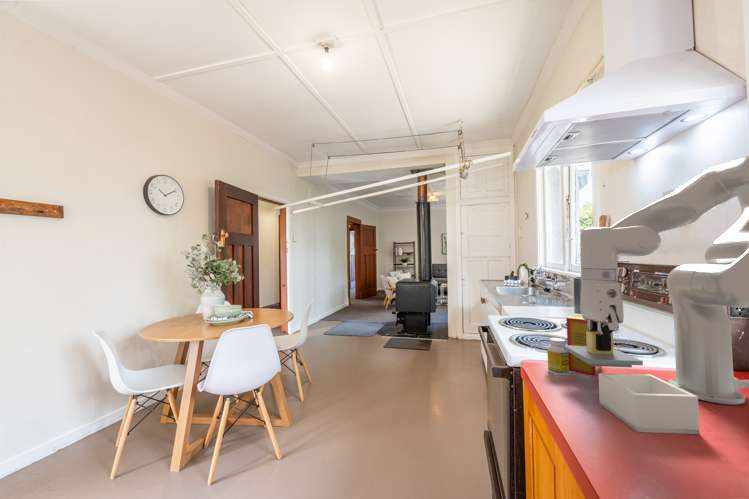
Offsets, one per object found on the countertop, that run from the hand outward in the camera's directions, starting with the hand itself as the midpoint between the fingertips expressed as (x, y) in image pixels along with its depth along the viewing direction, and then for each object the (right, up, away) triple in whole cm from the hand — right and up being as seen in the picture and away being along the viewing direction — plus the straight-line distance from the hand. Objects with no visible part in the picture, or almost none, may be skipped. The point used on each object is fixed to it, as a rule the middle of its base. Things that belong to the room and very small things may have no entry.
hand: (599, 348), depth 76 cm
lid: (0, -2, 0) cm, 2 cm away
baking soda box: (+6, -11, +14) cm, 19 cm away
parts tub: (-1, -10, -13) cm, 17 cm away
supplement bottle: (-3, -11, +12) cm, 17 cm away
